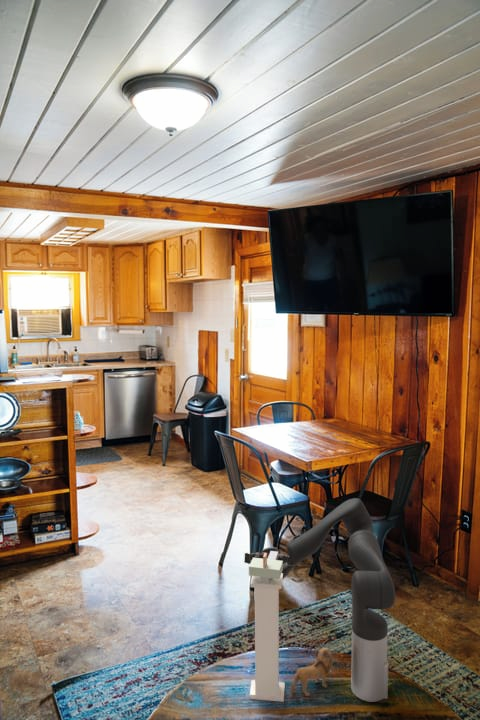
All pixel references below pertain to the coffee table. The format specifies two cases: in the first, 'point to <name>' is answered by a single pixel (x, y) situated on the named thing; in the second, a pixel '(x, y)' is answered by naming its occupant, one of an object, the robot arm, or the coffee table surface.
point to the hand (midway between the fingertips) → (268, 558)
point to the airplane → (266, 567)
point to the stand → (267, 641)
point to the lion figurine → (314, 671)
